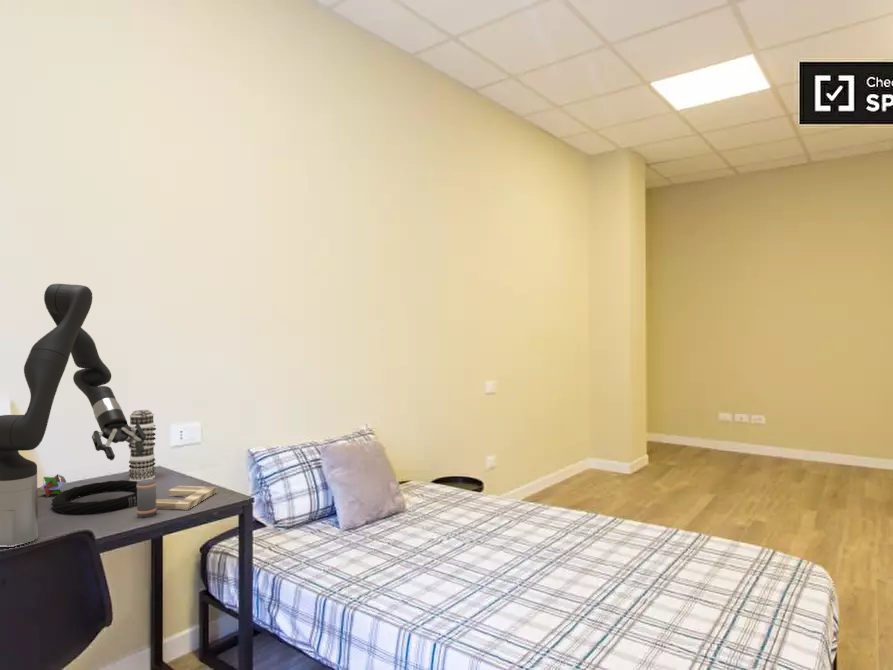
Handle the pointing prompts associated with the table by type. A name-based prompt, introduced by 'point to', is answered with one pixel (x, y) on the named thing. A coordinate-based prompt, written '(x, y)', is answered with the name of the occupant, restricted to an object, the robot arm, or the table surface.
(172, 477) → the table surface
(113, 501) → the cable lock
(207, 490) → the wooden u-shaped frame
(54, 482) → the geometric puzzle
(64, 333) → the robot arm
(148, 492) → the grey banded cylinder
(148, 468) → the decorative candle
